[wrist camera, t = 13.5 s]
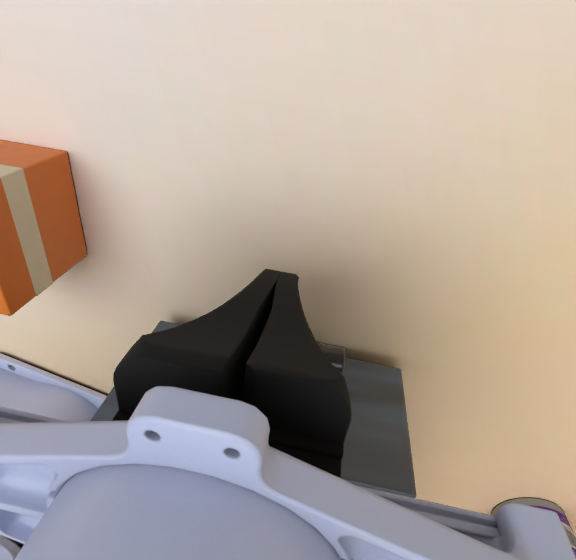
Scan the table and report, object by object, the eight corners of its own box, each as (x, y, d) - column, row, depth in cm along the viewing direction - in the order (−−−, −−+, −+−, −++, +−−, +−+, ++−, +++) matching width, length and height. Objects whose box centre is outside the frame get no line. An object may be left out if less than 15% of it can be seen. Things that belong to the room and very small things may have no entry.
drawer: (154, 254, 19) (67, 347, 13) (426, 306, 18) (457, 429, 12) (171, 458, 29) (125, 562, 23) (349, 498, 28) (345, 617, 22)
